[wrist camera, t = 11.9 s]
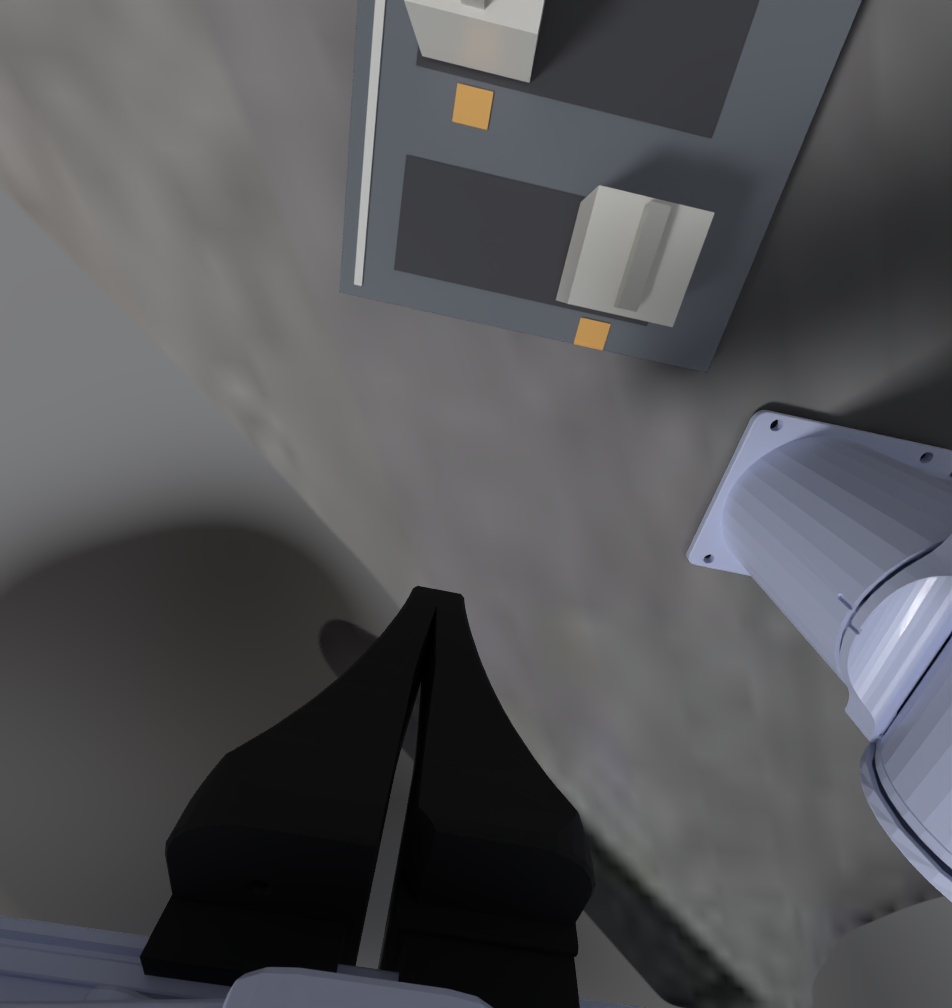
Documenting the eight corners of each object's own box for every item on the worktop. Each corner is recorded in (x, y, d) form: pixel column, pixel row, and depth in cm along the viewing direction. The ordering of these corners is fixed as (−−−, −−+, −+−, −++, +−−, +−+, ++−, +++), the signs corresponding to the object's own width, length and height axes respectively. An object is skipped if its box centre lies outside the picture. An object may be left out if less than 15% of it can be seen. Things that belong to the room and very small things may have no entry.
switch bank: (985, -343, 12) (1028, -399, 11) (697, 368, 19) (707, 373, 19) (404, -526, 11) (394, -604, 10) (346, 292, 19) (339, 292, 18)
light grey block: (675, 224, 16) (723, 209, 13) (643, 319, 18) (679, 329, 14) (580, 202, 16) (603, 181, 13) (555, 300, 17) (570, 304, 14)
